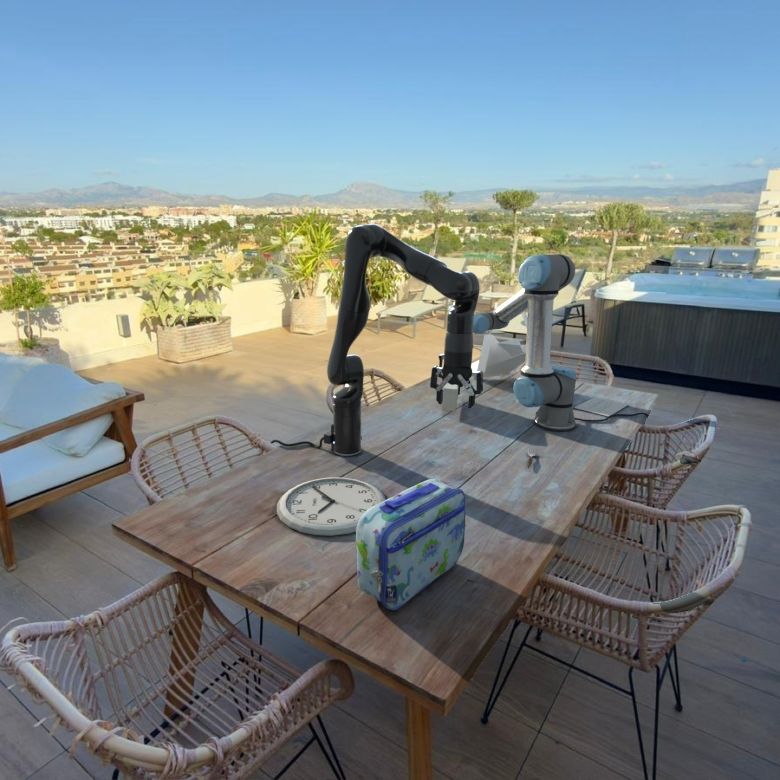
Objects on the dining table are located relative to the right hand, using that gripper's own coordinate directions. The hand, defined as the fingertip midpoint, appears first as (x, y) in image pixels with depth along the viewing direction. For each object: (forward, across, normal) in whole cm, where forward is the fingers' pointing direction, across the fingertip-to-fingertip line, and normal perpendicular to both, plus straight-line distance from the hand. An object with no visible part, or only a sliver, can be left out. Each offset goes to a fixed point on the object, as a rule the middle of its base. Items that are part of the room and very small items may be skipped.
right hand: (451, 393), depth 231 cm
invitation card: (+3, +64, +5) cm, 65 cm away
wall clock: (+3, -27, -99) cm, 102 cm away
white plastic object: (+3, +26, +29) cm, 39 cm away
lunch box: (+2, -2, -127) cm, 127 cm away
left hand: (-23, +4, -83) cm, 86 cm away
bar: (+1, 0, -9) cm, 9 cm away
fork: (+3, +29, -58) cm, 65 cm away
